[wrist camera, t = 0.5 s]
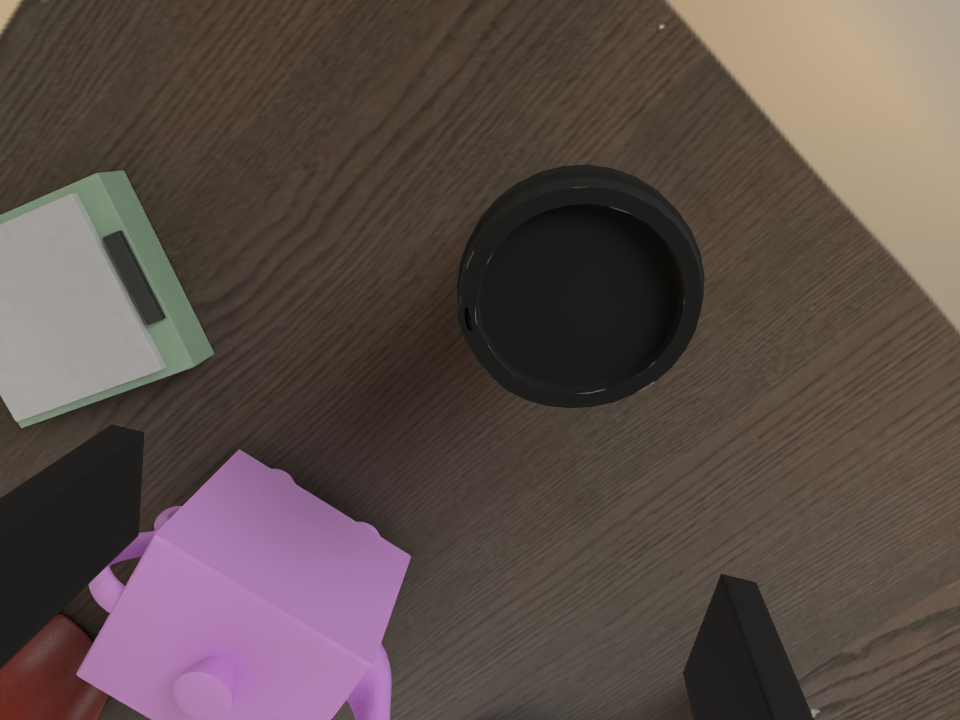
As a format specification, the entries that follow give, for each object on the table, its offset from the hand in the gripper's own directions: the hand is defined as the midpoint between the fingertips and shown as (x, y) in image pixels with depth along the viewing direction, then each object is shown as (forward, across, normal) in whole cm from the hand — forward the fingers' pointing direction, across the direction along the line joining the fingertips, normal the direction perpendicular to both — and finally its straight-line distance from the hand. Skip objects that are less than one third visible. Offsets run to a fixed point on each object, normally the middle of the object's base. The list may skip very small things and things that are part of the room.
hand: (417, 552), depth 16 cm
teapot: (+24, -8, -19) cm, 32 cm away
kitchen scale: (+24, -24, -6) cm, 34 cm away
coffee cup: (+24, +3, +4) cm, 25 cm away
